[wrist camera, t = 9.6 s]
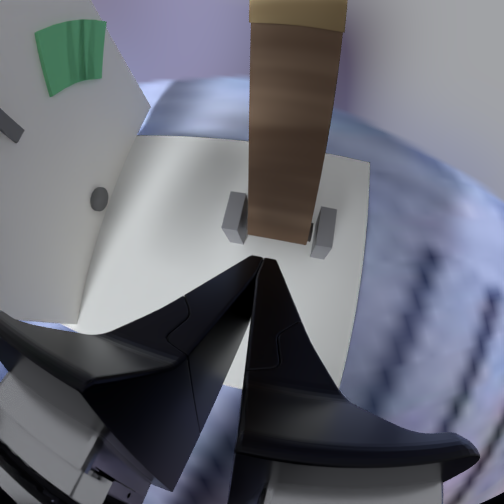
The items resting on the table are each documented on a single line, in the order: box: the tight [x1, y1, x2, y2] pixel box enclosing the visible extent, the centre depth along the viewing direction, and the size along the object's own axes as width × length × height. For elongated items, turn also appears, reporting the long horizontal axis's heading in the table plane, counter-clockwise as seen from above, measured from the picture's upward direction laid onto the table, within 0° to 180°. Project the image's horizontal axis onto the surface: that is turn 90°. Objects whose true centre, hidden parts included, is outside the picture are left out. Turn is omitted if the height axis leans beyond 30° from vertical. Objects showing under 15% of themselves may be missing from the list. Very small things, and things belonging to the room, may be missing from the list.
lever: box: [246, 0, 347, 245], centre depth 10 cm, size 2×3×12 cm, turn 78°
